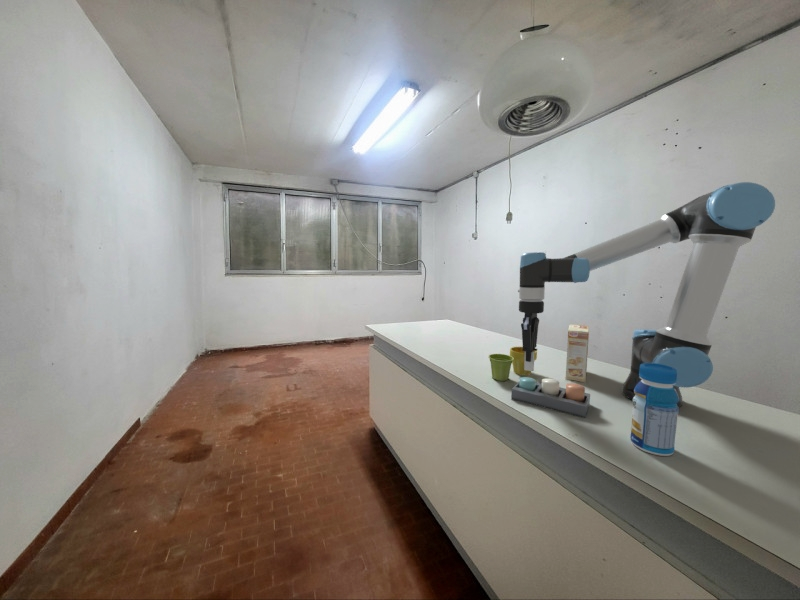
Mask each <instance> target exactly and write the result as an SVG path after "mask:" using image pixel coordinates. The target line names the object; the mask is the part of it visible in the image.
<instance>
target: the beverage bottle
mask: <svg viewBox="0 0 800 600" xmlns="http://www.w3.org/2000/svg"><path fill="white" fill-rule="evenodd" d="M639 376H640V378H641V379H642V380H641V381H640V382H639V383H638V384H637V385H636V386H635V389H634V393H635V396H634V397H633V400H631V401H632V412H631V413H632V414H631V428H630V438H629V440H630V442H631V443H632V444H633V446H635V447H636V448H637V449H639V450H641V451H643V452H645V453H648V454H651V455H655V456H661V457H669V456H672V455H673V454H674V453H675V444H676V443H675V441H676V433H677V426H678V425H677V423H678V422H677V421H678V415H679V414H680V409H679V408H680V407H678V406H677V403H678V402H679V396H678V393H677V391H676V390H675V388H674V387H673V386H672V385H675V384H676V381H677V370H676V369H675V368H673V367H670V366H667V365H662V364H656V363H642V364H641V365H640V369H639Z"/></svg>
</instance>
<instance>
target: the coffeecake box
mask: <svg viewBox="0 0 800 600" xmlns="http://www.w3.org/2000/svg"><path fill="white" fill-rule="evenodd" d="M589 329H590V328H589V325H582V324H572V323H570V324H569V326H568V329H567V345H566V346H567V348H566V364H565V377H564V378H565V380H571V381H576V382H581V383H586V381H587V368H588V367H587V366H588V351H589V335H590V334H589V332H590V330H589Z"/></svg>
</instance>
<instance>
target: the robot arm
mask: <svg viewBox="0 0 800 600" xmlns="http://www.w3.org/2000/svg"><path fill="white" fill-rule="evenodd" d="M775 207H776V199H775V196H774V194H773V193H772V192H771V191H770V190H769V189H768V188H767V187H765V186H764V185H762V184H759V183H756V182H750V181H747V182H746V181H742V182H735V183H732V184H727V185H723V186H721V187H719V188H717V189H715V190H713V191H710V192H708V193H706V194H702V195H701V196H698V197H696V198H694V199H693V200H690V201H689V202H687V203H686V204H683V205H682V206H680V207H678V208H676V209H674V210H671V211H669V212H667V213H664V214H662V215H661V216H660V217H659V219H658V220H655V221H653V222H651V223H649V224H646V225H643V226H641V227H637V228H635V229H633V230H631V231H629V232H625V233H623V234H621V235H620V234H619V235H618V236H616V237H612V238H611V239H608V240H606V241H602V242H601V243H598V244H595V245H593V246H589V247H588V248H585V249H583V250H581V251H577V252H575V253H573V254H570V255H568V256H565V257H562V258H548V257H547V254H546V252H544V251H543V252H525V253H522V254H521V255H520V263H519V289H518V290H517V292H518V293H519V301H518V311H519V312H520V313H524V317H523V318H522V323H520V327H521V336H522V337H521V341H522V347H523V349H522V351H525V358H524V370H528V371H531V372H534V371H535V361H534V351H537V352H538V348H537V344H538V343H537V342H538V333H539V324H540V319H539V317H538V314H542V313H544V310H545V309H544V307H545V302H544V301H543V300H545V290H546V288H545V283H574V284H576V283H585V282H587V281H589V277H590V272H592V271H594V270H597V269H600V268H603V267H605V266H609V265H612V264H614V263H616V262H618V261H621V260H625V259H627V258H630V257H633V256H635V255H638V254H641V253H643V252H646V251H648V250H651V249H655V248H657V247H660V246H663V245H666V244H668V243H673V244H678V243H680V242H683V241H686V240H690V241H691V242H692V244H693V245H692V247H691V251H690V254H689V256H688V259H687V262H686V265H685V267H684V270H683V273H682V277H681V279H680V282H679V286H678V289H677V292H676V294H675V297H674V300H673V302H672V306H671V309H670V312H669V314H668V318H667V321H666V323H665V325H664V326H663V327H661V328H658V329H648V328H647V329H646V328H644V329H642V328H638V329H637V328H636V329H635V330H634V331H633V335H632V338H631V339H632V345H631V357H630V359H631V360H630V371H629V374H628V375H627V377H626V380H625V381H624V384H623V385H622V391H621V392H622V393H621V394H622V395H623V396H624V397H626V398H628V399H630V400H631V401H633V397H634V396H635V393H634V389H635V386H636V385H637V384H638V383H639V382H640V381H641V380H642V379H641V378H640V376H639V369H640V365H641V364H642V363H656V364H662V365H667V366H670V367H673V368H675V369H676V370H677V381H676V384H675V385H672V386H673V387H674V388H675V390H676V391H677V393H678V396H679V402H678V403H677V406H678V408H681V407H682V405H683V395H682V392H681V388H692V387H697V386H699V385H700V386H701V385H702V384H704V383H705V382H707V381H708V380H709V379H710V377H711V376H712V374H713V371H714V365H713V361H712V360H711V358H710V357H709V353H710V352H711V351H710V350H711V348H712V346H713V343H712V342H711V340H710V339H709V338H708V333H709V329H710V327H711V325H712V322H713V320H714V317H715V314H716V311H717V308H718V305H719V303H720V301H721V297H722V295H723V292H724V290H725V287H726V284H727V281H728V279H729V276H730V273H731V270H732V268H733V266H734V265H733V264H734V262H735V260H736V258H737V257H736V256H737V253H738V251H739V249H740V247H743V246H744V245H746V244H747V243H750V242H751V241H752V239H753V236H754V234H755V231H756V228H757V227H759V226H761V225H763V224H764V223H765V222H767V221H768V219H769V218H771V217H772V215H773V213H774V211H775Z"/></svg>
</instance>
